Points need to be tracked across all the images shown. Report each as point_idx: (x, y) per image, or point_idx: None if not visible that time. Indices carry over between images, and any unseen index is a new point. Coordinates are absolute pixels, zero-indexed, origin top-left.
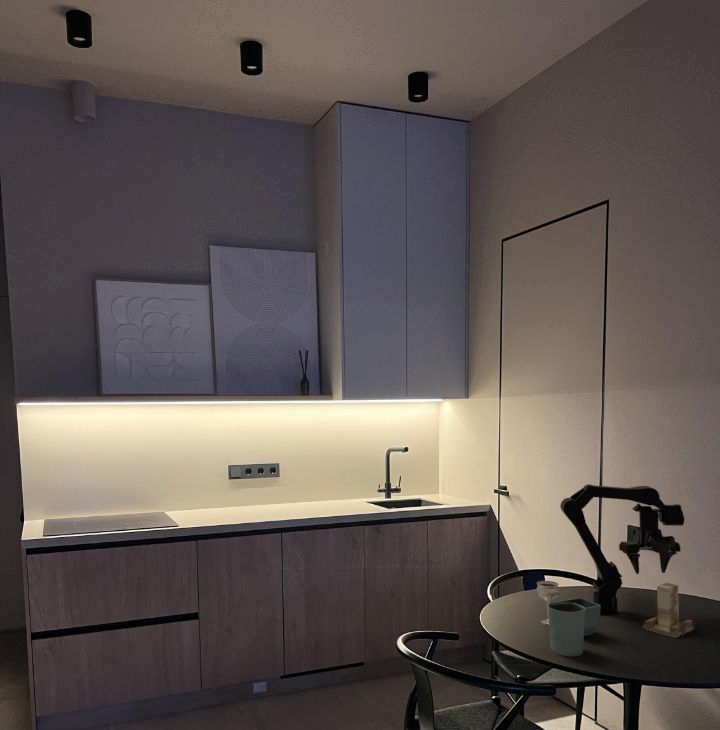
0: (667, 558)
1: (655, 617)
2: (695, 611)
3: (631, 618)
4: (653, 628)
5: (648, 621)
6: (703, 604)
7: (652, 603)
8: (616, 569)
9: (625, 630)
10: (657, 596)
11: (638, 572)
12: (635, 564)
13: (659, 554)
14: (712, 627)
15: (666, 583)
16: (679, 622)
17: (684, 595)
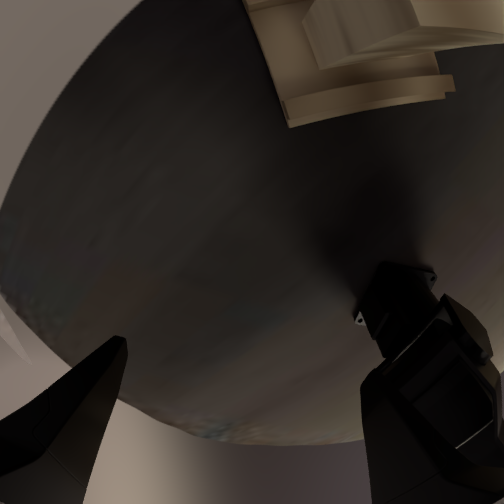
0: (33, 437)
1: (382, 94)
2: (59, 192)
3: (379, 209)
4: (433, 55)
5: (446, 78)
6: (10, 246)
7: (152, 315)
8: (489, 396)
9: (486, 125)
10: (488, 43)
11: (381, 379)
12: (432, 431)
13: (83, 496)
14: (143, 2)
15: (439, 15)
16: (266, 46)
17: (28, 323)
